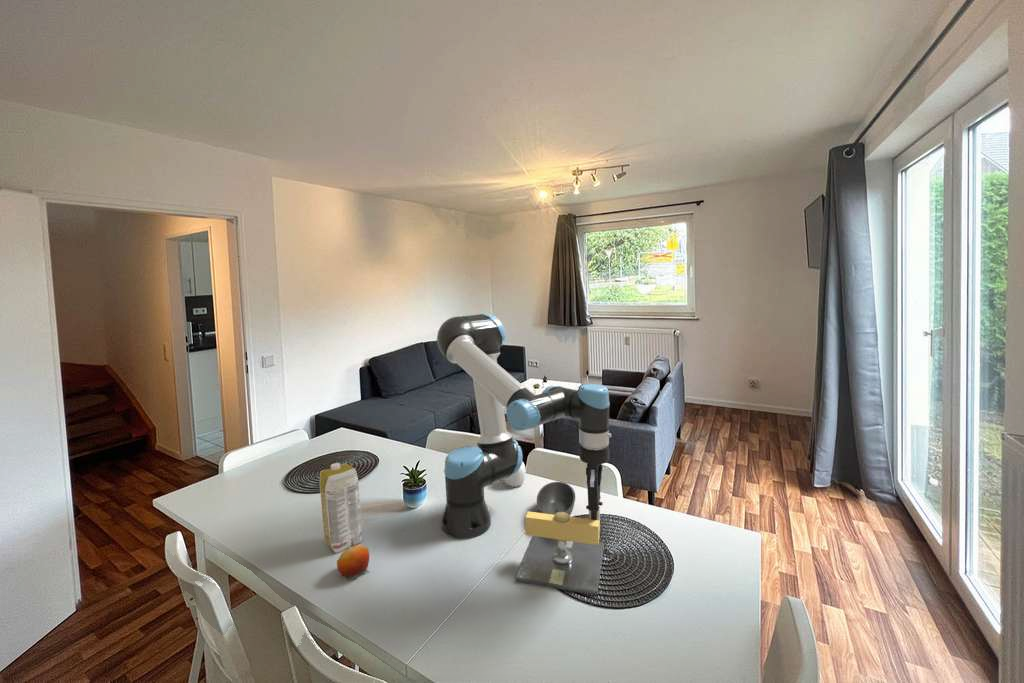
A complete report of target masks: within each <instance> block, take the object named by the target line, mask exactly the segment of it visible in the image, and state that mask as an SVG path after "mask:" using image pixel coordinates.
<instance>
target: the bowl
mask: <svg viewBox="0 0 1024 683" xmlns="http://www.w3.org/2000/svg"><path fill="white" fill-rule="evenodd" d="M575 502H576V492H575V489H574V488H573V486H571V485H570V484H568V483H566V482H564V481H563V482H562V481H553V482H549V483H547V484H545V485H543V486H542V487H541V488H540V489H539V491H538V493H537V496H536V506H537V508H538V511H539V512H538V513H545V514H552V515H555V514H556V513H558V512H565V513H568V514H569V515H570V516H571V514H572V513H573V510H574V506H575Z"/></svg>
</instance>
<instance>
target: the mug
mask: <svg viewBox="0 0 1024 683" xmlns="http://www.w3.org/2000/svg"><path fill="white" fill-rule="evenodd" d="M526 473H527V472H526V465H525V463H524V461H522V464H521V467H520V468H519V470H518V471H517V472H516V473H514V474H512V475H511V476H510V477H508V478H504V479H502V480H499V481H498V482H502V481H504V482H505V484H506V485H507V486H509V487H512V488H513V487H514V488H515V487H520V486H522V485H523V483H524V482H525V480H526V479H525V478H526Z"/></svg>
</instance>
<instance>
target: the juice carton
mask: <svg viewBox="0 0 1024 683" xmlns="http://www.w3.org/2000/svg"><path fill="white" fill-rule="evenodd" d="M358 477H359V476H358V473H357V470H356V468H355V467H353V466H352V465H351V464H349V463H347V462H345V463H342V464H341V463H340V462H335V463H332V464H330V468H326V469H324V470H320V473H319V492H320V504H321V513H322V525H323V535H324V539H325V543H326V544H327V546H328V547H329V548H330V549H331V551H333V552H334V553H335V554H337V553H340V552H341V553H342V552H344V551H345V550H347V549H349V548H352V547H353V546H356V545H359V544H360V543H361V542H362V535H363V533H362V532H363V531H362V530H363V526H362V513H361V503H360V502H361V500H360V488H359V487H360V486H359V478H358Z"/></svg>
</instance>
